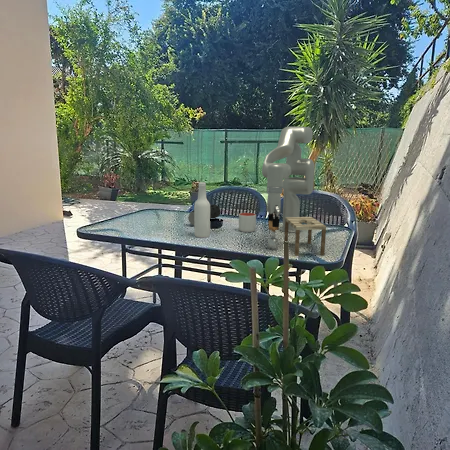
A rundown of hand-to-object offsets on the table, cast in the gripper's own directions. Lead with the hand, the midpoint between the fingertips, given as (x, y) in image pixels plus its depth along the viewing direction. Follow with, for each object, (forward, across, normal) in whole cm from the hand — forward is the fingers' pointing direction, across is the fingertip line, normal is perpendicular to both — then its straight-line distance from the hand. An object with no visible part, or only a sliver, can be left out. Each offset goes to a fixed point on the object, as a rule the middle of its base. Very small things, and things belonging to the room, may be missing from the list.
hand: (273, 224), depth 196 cm
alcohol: (+12, -28, -34) cm, 46 cm away
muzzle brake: (+12, -64, -31) cm, 72 cm away
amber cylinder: (+12, 0, 0) cm, 12 cm away
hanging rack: (+12, +2, +15) cm, 20 cm away
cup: (+12, -40, -7) cm, 42 cm away
